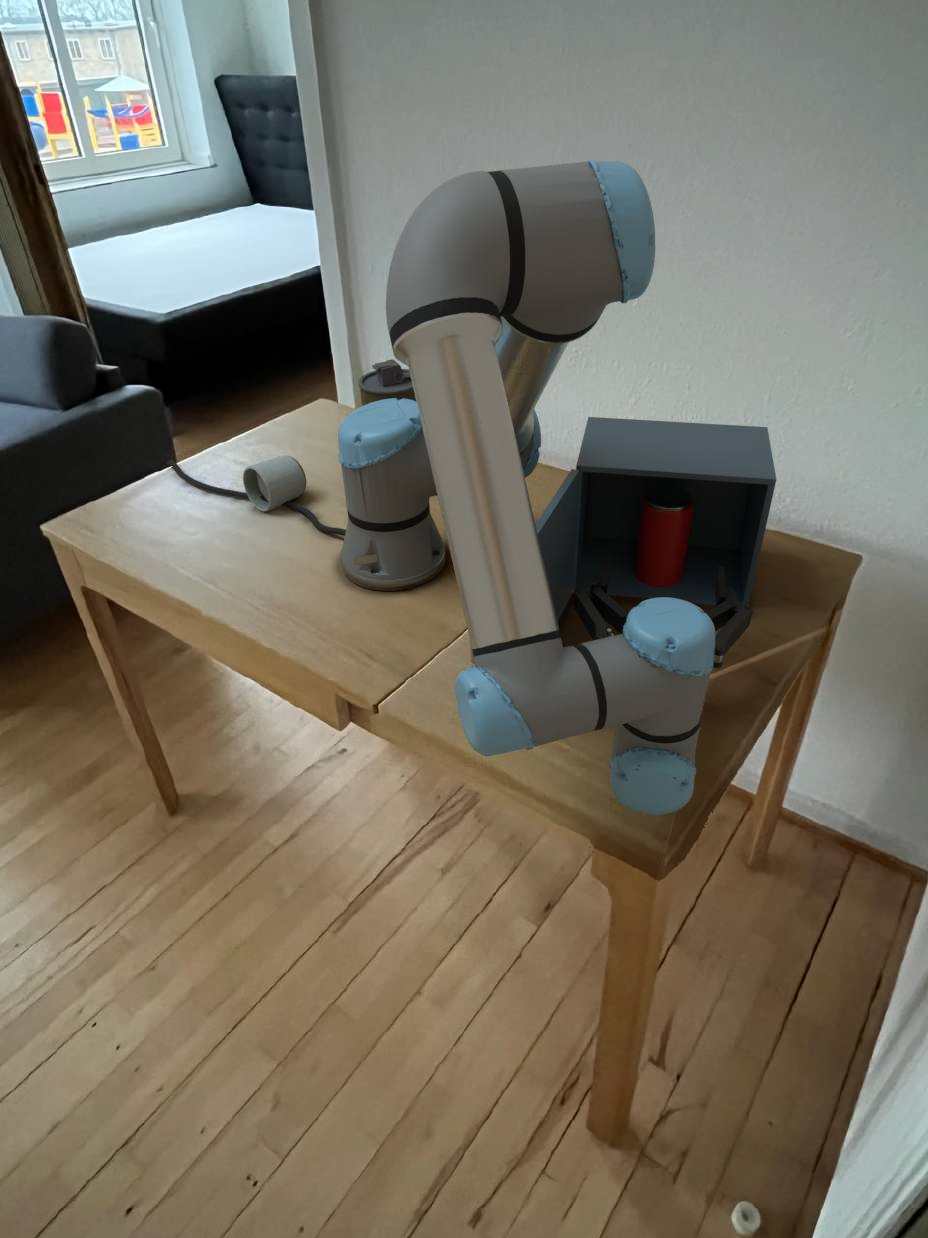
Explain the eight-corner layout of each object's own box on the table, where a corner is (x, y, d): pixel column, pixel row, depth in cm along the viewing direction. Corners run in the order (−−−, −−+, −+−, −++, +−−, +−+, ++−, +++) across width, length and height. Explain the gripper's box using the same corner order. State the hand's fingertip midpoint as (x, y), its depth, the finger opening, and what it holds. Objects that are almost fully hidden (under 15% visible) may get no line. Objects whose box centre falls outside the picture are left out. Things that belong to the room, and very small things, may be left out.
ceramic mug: (313, 498, 136) (305, 456, 132) (273, 517, 132) (264, 474, 127) (274, 481, 142) (266, 440, 138) (235, 499, 138) (225, 457, 133)
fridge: (747, 612, 108) (776, 479, 96) (569, 594, 112) (576, 465, 100) (741, 552, 119) (767, 426, 107) (580, 538, 124) (588, 416, 112)
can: (625, 569, 115) (633, 492, 108) (662, 556, 118) (672, 480, 110) (654, 592, 111) (664, 514, 103) (692, 578, 113) (705, 501, 105)
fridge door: (464, 696, 96) (458, 559, 84) (529, 588, 113) (531, 462, 102) (513, 709, 94) (514, 570, 82) (571, 597, 111) (579, 469, 100)
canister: (380, 495, 137) (368, 379, 125) (361, 470, 144) (347, 358, 132) (440, 481, 140) (433, 367, 128) (417, 457, 148) (409, 347, 136)
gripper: (537, 694, 89) (561, 585, 105) (776, 723, 84) (762, 605, 101) (538, 640, 84) (563, 535, 101) (791, 668, 80) (774, 553, 96)
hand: (662, 570), depth 101 cm, fingers open, 13 cm apart
